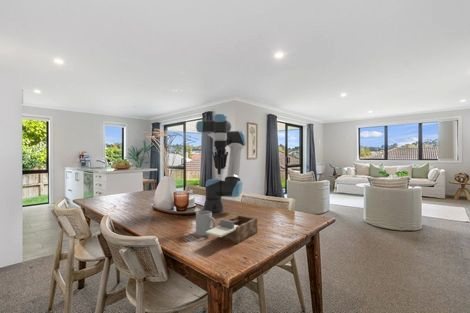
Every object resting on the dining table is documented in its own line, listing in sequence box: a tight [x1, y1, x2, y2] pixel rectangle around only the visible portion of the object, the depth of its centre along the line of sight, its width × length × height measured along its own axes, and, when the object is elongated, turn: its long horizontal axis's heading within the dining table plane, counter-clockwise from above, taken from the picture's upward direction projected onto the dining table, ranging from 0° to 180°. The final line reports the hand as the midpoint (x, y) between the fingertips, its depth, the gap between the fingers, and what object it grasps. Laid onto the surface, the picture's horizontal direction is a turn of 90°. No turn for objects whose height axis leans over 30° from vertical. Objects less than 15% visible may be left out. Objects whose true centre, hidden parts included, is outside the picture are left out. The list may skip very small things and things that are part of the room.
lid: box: [206, 218, 238, 238], centre depth 107 cm, size 16×9×4 cm, turn 145°
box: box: [218, 214, 258, 244], centre depth 118 cm, size 18×12×8 cm, turn 145°
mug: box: [195, 210, 217, 237], centre depth 120 cm, size 12×8×11 cm
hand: (220, 179), depth 137 cm, fingers closed
